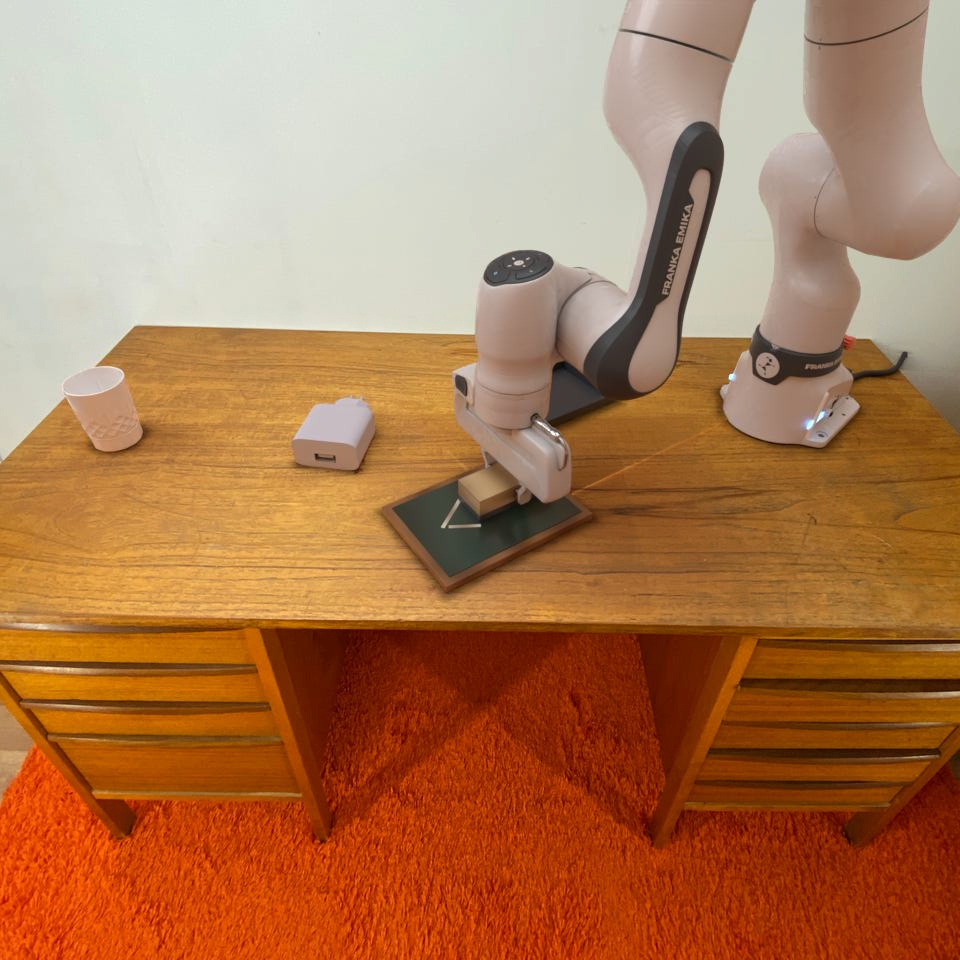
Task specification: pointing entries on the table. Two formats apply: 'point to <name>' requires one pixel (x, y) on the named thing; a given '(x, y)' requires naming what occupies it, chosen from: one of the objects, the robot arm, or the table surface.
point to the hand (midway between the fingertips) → (507, 486)
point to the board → (476, 530)
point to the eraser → (488, 491)
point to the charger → (335, 435)
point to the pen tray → (571, 395)
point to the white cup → (104, 407)
